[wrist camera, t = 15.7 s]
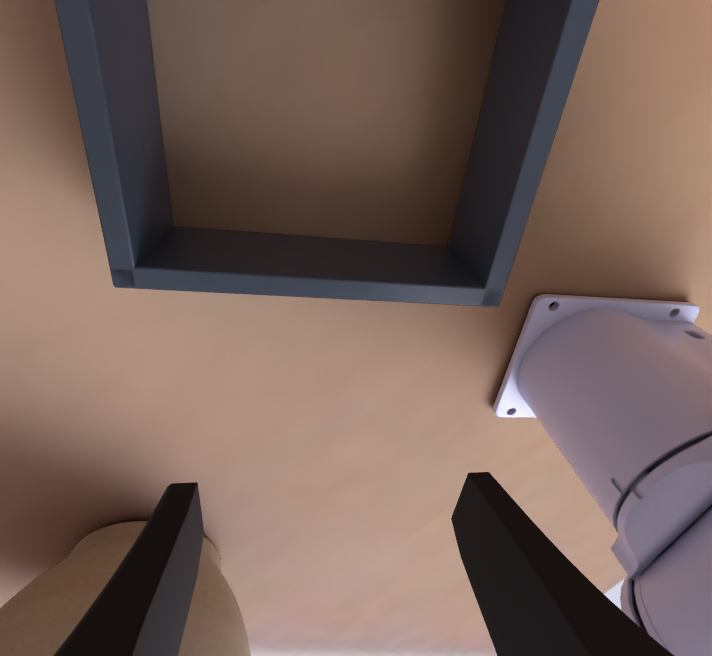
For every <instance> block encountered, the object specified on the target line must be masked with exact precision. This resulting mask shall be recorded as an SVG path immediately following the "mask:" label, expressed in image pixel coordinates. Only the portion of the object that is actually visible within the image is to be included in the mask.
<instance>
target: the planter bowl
mask: <svg viewBox="0 0 712 656" xmlns="http://www.w3.org/2000/svg"><path fill="white" fill-rule="evenodd" d="M147 522H148V521H134V522H123V523H118V524H114V525H110V526H106V527H104V528H101V529H98V530H96V531H94V532H92V533H90V534H89V535H87V536H86V537H84V538H83V539H82V540H81V541H80V542H79V543H78V544H77V545H76V546H75V548H74V549H73V550H72V552H71V553H70V555H69V556H68V557H67V558H66V559H64V560H62V561H61V562H59V563H58V564H56V565H54V566H53V567H51V568H50V569H48V570H47V571H45V572H44V573H43V574H41V575H40V576H39V577H37V578H36V579H34V580H33V581H32V582H31V583H29V584H28V585H27V586H26V587H24V588H23V589H22V590H21V591H19V592H18V593H17V594H16V595H15V596H14V597H13V598H11V599H10V600H9V601H8V602H7V603H6V604H5V605H4V606H2V607H1V608H0V656H54V654H55V653H56V652H57V650H58V649H59V648H60V647H61V645H62V644H63V643H64V641H65V640H66V639H67V638H68V636H69V635H70V634H71V632H72V631H73V630H74V628H75V627H76V626H77V624H78V623H79V622H80V620H81V619H82V618H83V616H84V615H85V613H86V612H87V611H88V609H89V608H90V607H91V605H92V604H93V602H94V601H95V600H96V598H97V597H98V596H99V594H100V593H101V591H102V590H103V589H104V587H105V586H106V584H107V583H108V582H109V580H110V579H111V577H112V576H113V574H114V573H115V571H116V570H117V568H118V567H119V565H120V564H121V562H122V561H123V559H124V558H125V556H126V555H127V553H128V552H129V550H130V549H131V547H132V546H133V544H134V543H135V541H136V539H137V538H138V536H139V535H140V533H141V531H142V530H143V528H144V527H145V525H146V523H147ZM178 656H251V655H250V649H249V643H248V638H247V634H246V630H245V625H244V622H243V618H242V615H241V612H240V609H239V606H238V604H237V601H236V599H235V596H234V594H233V592H232V590H231V588H230V586H229V584H228V583H227V581H226V579H225V578H224V576H223V575H222V573H221V559H220V555H219V553H218V551H217V549H216V548H215V546H214V545H213V544H212V543H211V542H210V541H209V540H208V539H207V538H205V537H203V542H202V549H201V556H200V563H199V569H198V575H197V580H196V584H195V588H194V592H193V597H192V601H191V605H190V609H189V613H188V617H187V621H186V625H185V629H184V633H183V637H182V641H181V645H180V649H179V653H178Z"/></svg>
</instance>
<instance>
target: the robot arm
mask: <svg viewBox="0 0 712 656" xmlns="http://www.w3.org/2000/svg"><path fill="white" fill-rule="evenodd" d="M553 302H555V303H554V305H553V306H551V307H549V305H550V304H551V303H553ZM698 313H699V307H698V306H697V305H695V304H694V303H691V302H676V301H658V300H641V299H624V298H607V297H589V296H572V295H555V294H541V295H539V296H537V297H536V298H535V299H534V300H533V302H532V304H531V307H530V309H529V312H528V315H527V318H526V320H525V323H524V326H523V328H522V331H521V334H520V336H519V339H518V342H517V344H516V347H515V350H514V353H513V355H512V358H511V361H510V363H509V366H508V369H507V371H506V374H505V377H504V379H503V382H502V385H501V388H500V390H499V393H498V396H497V398H496V401H495V404H494V406H493V411H494V413H495V415H496V416H498V417H537V419H538V420H539V422H540V423H541V424H542V426H543V427H544V429H545V430H546V432H547V433H548V434H549V436H550V437H551V439H552V440H553V442H554V443H555V444H556V446H557V447H558V449H559V450H560V451H561V453H562V454H563V456H564V457H565V459H566V460H567V461H568V463H569V464H570V466H571V467H572V469H573V470H574V471H575V473H576V474H577V476H578V477H579V478H580V480H581V481H582V483H583V484H584V486H585V487H586V488H587V490H588V491H589V493H590V494H591V496H592V497H593V498H594V500H595V501H596V503H597V504H598V506H599V507H600V508H601V510H602V511H603V513H604V514H605V515H606V517H607V518H608V520H609V521H610V523H611V524H612V525H613V527H614V528H615V530H616V531H617V532H618V538H617V540H616V542H615V543H614V544H613V546H612V547H611V550H612V552H613V553H614V555H615V556H616V558H617V559H618V561H619V562H620V564H621V565H622V567H623V568H624V570H625V571H626V573H627V574H628V576H627V577H626V578H625V580H624V583H623V585H622V588H621V596H620V599H621V609H622V611H621V610H620V609H619V608H618V607H617V606H615V604H613V603H612V602H611V601H610V600H609V599H608V598H607V597H606V596H605V595H604V594H603V593H602V592H601V591H599V590H598V589H597V588H596V587H595V586H594V585H593V584H592V583H591V582H590V581H589V580H588V579H587V578H586V577H585V576H584V575H583V574H582V573H581V572H580V571H579V570H578V569H577V568H576V567H575V566H574V565H573V564H572V563H571V562H570V561H569V560H568V559H567V558H566V557H565V556H564V555H563V554H562V553H561V552H560V551H559V550H558V548H557V547H556V546H555V545H554V544H553V543H552V542H551V541H550V540H549V539H548V538H547V537H546V536H545V535H544V533H543V532H542V531H541V530H540V529H539V528H538V527H537V526H536V525H535V524H534V523H533V521H532V520H531V519H530V518H529V517H528V516H527V515H526V514H525V513H524V511H523V510H522V509H521V508H520V507H519V506H518V505H517V504H516V502H515V501H514V500H513V499H512V498H511V497H510V496H509V494H508V493H507V492H506V491H505V490H504V489H503V488H502V487H501V485H500V484H499V483H498V482H497V481H496V480H495V479H494V478H493V476H492V475H491V474H490V473H489V472H478V473H468V475H467V478H466V481H465V483H464V486H463V489H462V491H461V494H460V497H459V499H458V502H457V505H456V507H455V510H454V513H453V515H452V518H451V519H452V523H453V527H454V532H455V536H456V540H457V544H458V547H459V551H460V555H461V558H462V561H463V564H464V567H465V570H466V572H467V575H468V578H469V580H470V583H471V586H472V589H473V591H474V594H475V597H476V599H477V602H478V605H479V607H480V610H481V612H482V615H483V618H484V620H485V623H486V626H487V628H488V631H489V634H490V636H491V639H492V642H493V644H494V647H495V650H496V653H497V656H712V335H710V334H709V333H707V332H705V331H704V330H702V329H700V328H699V327H697V326H696V325H694V324H692V323H693V321H694V320H695V318H696V316H697V315H698ZM510 408H512V409H510ZM509 409H510V410H509ZM203 535H204V529H203V521H202V514H201V506H200V498H199V490H198V483H173V484H170V485H169V486H168V487H167V488H166V490H165V492H164V494H163V496H162V498H161V499H160V501H159V503H158V505H157V506H156V508H155V510H154V512H153V513H152V515H151V517H150V518H149V520H148V522H147V523H146V525H145V527H144V528H143V530H142V531H141V533H140V535H139V536H138V538H137V539H136V541H135V543H134V544H133V546H132V547H131V549H130V550H129V552H128V553H127V555H126V556H125V558H124V559H123V561H122V562H121V564H120V565H119V567H118V568H117V570H116V571H115V573H114V574H113V576H112V577H111V579H110V580H109V582H108V583H107V584H106V586H105V587H104V589H103V590H102V591H101V593H100V594H99V596H98V597H97V598H96V600H95V601H94V602H93V604H92V605H91V607H90V608H89V609H88V611H87V612H86V613H85V615H84V616H83V618H82V619H81V620H80V622H79V623H78V624H77V626H76V627H75V628H74V630H73V631H72V632H71V634H70V635H69V636H68V638H67V639H66V640H65V641H64V643H63V644H62V645H61V647H60V648H59V649H58V650H57V652H56V653H55V654H54V656H178V653H179V649H180V645H181V641H182V637H183V633H184V629H185V625H186V621H187V617H188V613H189V609H190V605H191V601H192V597H193V592H194V588H195V584H196V580H197V575H198V569H199V563H200V556H201V549H202V542H203Z"/></svg>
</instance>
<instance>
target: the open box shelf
mask: <svg viewBox="0 0 712 656" xmlns="http://www.w3.org/2000/svg"><path fill="white" fill-rule="evenodd" d="M598 2H599V0H506V4H505V9H504V13H503V17H502V21H501V25H500V30H499V34H498V38H497V42H496V47H495V51H494V55H493V59H492V64H491V68H490V72H489V76H488V80H487V85H486V89H485V93H484V97H483V102H482V106H481V110H480V114H479V119H478V123H477V127H476V131H475V136H474V140H473V144H472V148H471V152H470V157H469V161H468V165H467V169H466V174H465V178H464V182H463V186H462V191H461V195H460V199H459V203H458V208H457V212H456V216H455V220H454V224H453V229H452V233H451V237H450V241H449V246H448V247H443V246H429V245H416V244H402V243H389V242H375V241H362V240H348V239H335V238H321V237H308V236H294V235H281V234H268V233H254V232H241V231H227V230H214V229H200V228H187V227H173V224H172V215H171V207H170V198H169V190H168V181H167V173H166V164H165V156H164V147H163V138H162V130H161V121H160V113H159V104H158V96H157V87H156V79H155V70H154V62H153V53H152V44H151V36H150V27H149V19H148V10H147V2H146V0H55V5H56V10H57V15H58V20H59V24H60V29H61V34H62V39H63V44H64V48H65V53H66V58H67V63H68V68H69V73H70V77H71V82H72V87H73V92H74V97H75V102H76V106H77V111H78V116H79V121H80V126H81V131H82V135H83V140H84V145H85V150H86V155H87V160H88V164H89V169H90V174H91V179H92V184H93V189H94V193H95V198H96V203H97V208H98V213H99V217H100V222H101V227H102V232H103V237H104V242H105V246H106V251H107V256H108V261H109V266H110V271H111V276H112V281H113V285H114V287H118V288H138V289H157V290H176V291H196V292H215V293H235V294H254V295H274V296H293V297H313V298H332V299H351V300H371V301H390V302H410V303H429V304H449V305H468V306H482V307H499V305H500V302H501V299H502V296H503V293H504V290H505V287H506V283H507V280H508V277H509V274H510V271H511V268H512V265H513V262H514V259H515V256H516V253H517V250H518V247H519V244H520V241H521V238H522V235H523V232H524V228H525V225H526V222H527V219H528V216H529V213H530V210H531V207H532V204H533V201H534V198H535V195H536V192H537V189H538V186H539V183H540V180H541V176H542V173H543V170H544V167H545V164H546V161H547V158H548V155H549V152H550V149H551V146H552V143H553V140H554V137H555V134H556V131H557V128H558V125H559V121H560V118H561V115H562V112H563V109H564V106H565V103H566V100H567V97H568V94H569V91H570V88H571V85H572V82H573V79H574V76H575V73H576V69H577V66H578V63H579V60H580V57H581V54H582V51H583V48H584V45H585V42H586V39H587V36H588V33H589V30H590V27H591V24H592V21H593V18H594V14H595V11H596V8H597V5H598Z"/></svg>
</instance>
